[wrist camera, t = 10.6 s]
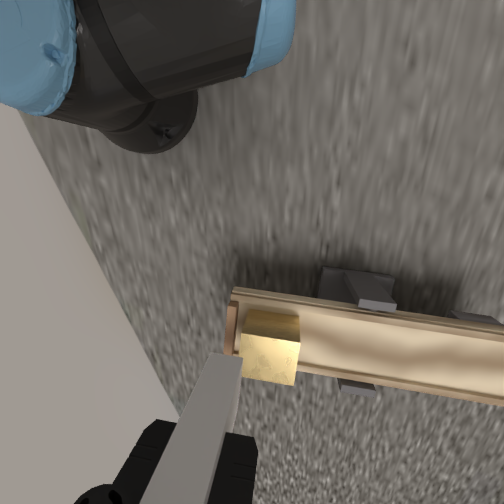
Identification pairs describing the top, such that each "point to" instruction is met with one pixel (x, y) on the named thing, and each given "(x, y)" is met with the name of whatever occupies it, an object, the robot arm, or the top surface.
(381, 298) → the pivot stand
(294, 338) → the rider
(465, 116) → the top surface
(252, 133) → the top surface
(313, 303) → the beam
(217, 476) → the robot arm
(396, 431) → the top surface
